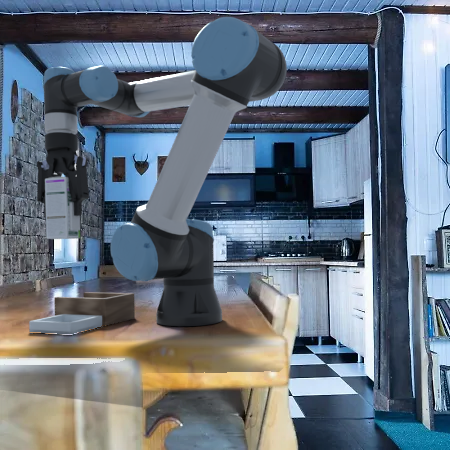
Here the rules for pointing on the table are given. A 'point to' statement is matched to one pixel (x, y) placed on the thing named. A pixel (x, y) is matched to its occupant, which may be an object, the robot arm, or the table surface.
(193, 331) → the table surface
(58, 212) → the syrup box
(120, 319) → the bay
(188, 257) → the robot arm
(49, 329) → the tray
